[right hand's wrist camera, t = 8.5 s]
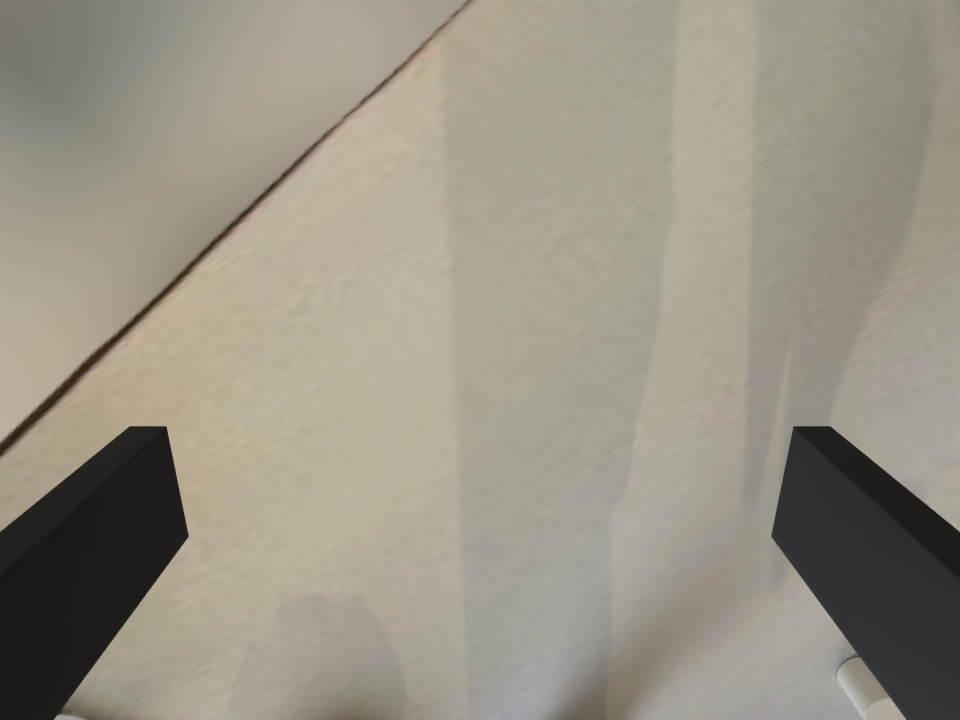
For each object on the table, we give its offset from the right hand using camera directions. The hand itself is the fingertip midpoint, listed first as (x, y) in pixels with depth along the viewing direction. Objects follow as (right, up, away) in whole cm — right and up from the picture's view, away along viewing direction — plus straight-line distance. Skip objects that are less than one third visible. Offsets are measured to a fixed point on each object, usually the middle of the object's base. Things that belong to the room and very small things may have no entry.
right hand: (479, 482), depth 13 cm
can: (+34, -25, +40) cm, 58 cm away
